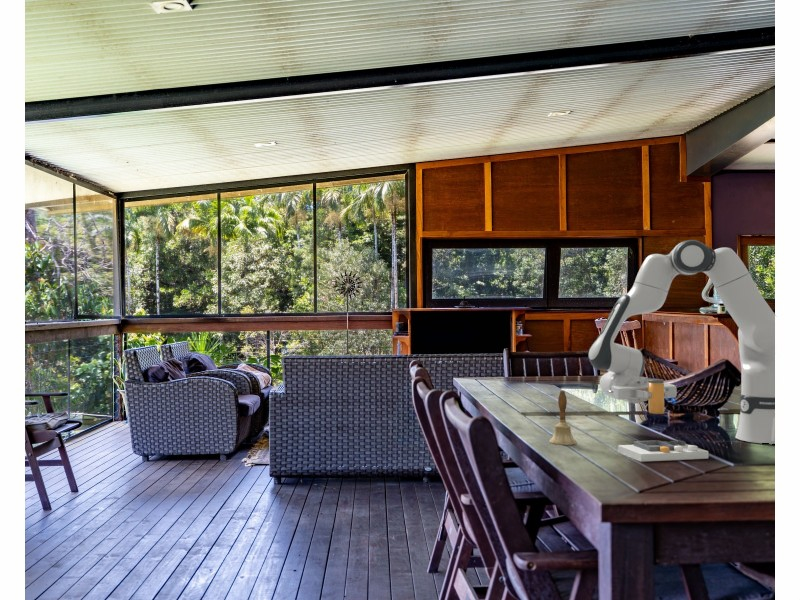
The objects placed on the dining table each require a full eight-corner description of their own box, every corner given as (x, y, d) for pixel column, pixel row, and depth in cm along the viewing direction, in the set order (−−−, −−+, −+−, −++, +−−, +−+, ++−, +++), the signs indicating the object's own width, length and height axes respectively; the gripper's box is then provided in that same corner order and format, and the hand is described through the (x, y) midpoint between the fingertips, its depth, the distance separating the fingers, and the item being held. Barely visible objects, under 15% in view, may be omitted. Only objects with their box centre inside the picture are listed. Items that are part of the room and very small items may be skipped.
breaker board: (682, 449, 206) (682, 438, 206) (708, 458, 194) (708, 447, 194) (617, 452, 201) (617, 441, 201) (640, 461, 190) (640, 449, 190)
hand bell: (557, 445, 210) (557, 393, 210) (544, 440, 218) (544, 389, 218) (581, 444, 212) (582, 392, 212) (568, 439, 220) (568, 388, 220)
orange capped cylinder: (658, 411, 214) (658, 378, 214) (667, 413, 210) (667, 380, 210) (645, 411, 213) (645, 379, 213) (654, 414, 209) (653, 380, 209)
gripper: (603, 380, 222) (626, 385, 209) (660, 378, 227) (687, 383, 213) (603, 400, 222) (627, 406, 209) (661, 397, 227) (687, 403, 213)
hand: (657, 394), depth 211 cm, fingers closed on orange capped cylinder, 4 cm apart
